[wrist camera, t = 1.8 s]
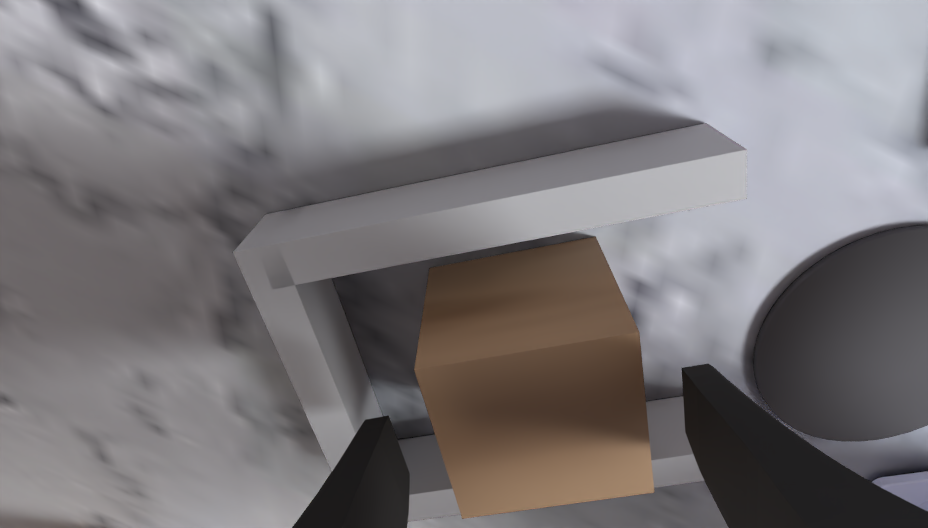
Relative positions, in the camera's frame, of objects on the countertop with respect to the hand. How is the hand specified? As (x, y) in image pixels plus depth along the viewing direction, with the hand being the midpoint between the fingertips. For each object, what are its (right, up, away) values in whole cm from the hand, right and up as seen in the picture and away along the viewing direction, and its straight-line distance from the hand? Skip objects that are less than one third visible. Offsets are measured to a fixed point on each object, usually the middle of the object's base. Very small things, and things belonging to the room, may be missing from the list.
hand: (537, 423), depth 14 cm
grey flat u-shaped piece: (0, +2, +4) cm, 5 cm away
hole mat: (+11, +1, +4) cm, 12 cm away
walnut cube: (0, +2, +4) cm, 5 cm away
